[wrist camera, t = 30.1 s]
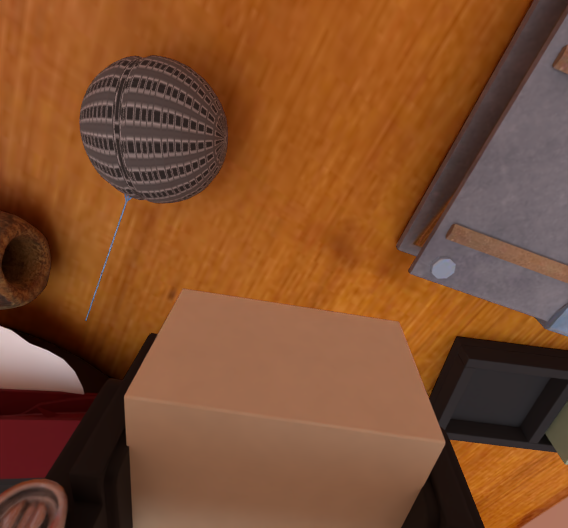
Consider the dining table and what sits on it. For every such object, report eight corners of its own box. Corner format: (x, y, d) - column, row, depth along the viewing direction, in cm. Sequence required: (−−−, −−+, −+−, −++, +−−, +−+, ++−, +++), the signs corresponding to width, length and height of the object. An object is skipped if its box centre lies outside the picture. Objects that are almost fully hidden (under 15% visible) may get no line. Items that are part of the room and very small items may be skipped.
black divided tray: (422, 412, 33) (431, 437, 31) (456, 335, 29) (469, 358, 27) (604, 434, 34) (625, 461, 31) (663, 362, 30) (691, 386, 27)
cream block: (182, 287, 10) (123, 396, 6) (399, 320, 10) (447, 442, 7) (176, 436, 12) (132, 569, 9) (349, 461, 12) (366, 598, 9)
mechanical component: (252, 420, 32) (235, 484, 32) (233, 396, 36) (218, 454, 36) (-135, 416, 20) (-159, 517, 20) (-100, 382, 24) (-120, 467, 24)
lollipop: (169, 236, 35) (90, 206, 33) (261, 72, 19) (120, -11, 17) (136, 334, 31) (41, 309, 28) (219, 227, 15) (18, 146, 12)
